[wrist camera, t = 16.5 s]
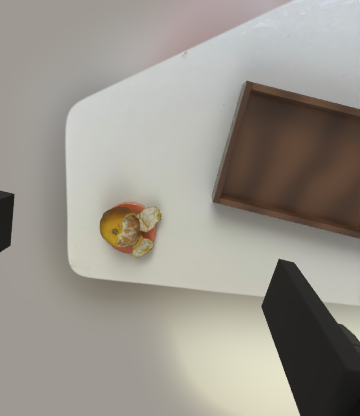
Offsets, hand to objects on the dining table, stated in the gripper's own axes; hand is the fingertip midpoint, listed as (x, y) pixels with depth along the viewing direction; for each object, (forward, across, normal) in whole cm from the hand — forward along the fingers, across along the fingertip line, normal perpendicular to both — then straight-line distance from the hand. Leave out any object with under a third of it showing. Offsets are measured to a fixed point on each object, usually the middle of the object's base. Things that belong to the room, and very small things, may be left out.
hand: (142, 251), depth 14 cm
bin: (+29, +18, +5) cm, 34 cm away
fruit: (+28, -4, -10) cm, 30 cm away
